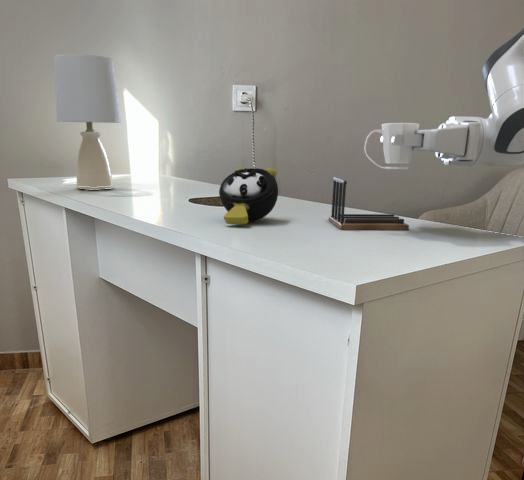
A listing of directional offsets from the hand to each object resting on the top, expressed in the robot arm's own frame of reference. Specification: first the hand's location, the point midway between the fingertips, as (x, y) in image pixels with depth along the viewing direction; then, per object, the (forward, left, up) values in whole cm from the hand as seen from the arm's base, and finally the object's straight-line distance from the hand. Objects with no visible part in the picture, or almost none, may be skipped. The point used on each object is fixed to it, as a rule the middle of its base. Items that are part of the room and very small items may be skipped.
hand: (387, 139), depth 105 cm
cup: (-1, 0, -5) cm, 6 cm away
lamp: (+70, -76, -17) cm, 105 cm away
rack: (+1, -7, -17) cm, 18 cm away
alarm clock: (+26, -11, -17) cm, 33 cm away
